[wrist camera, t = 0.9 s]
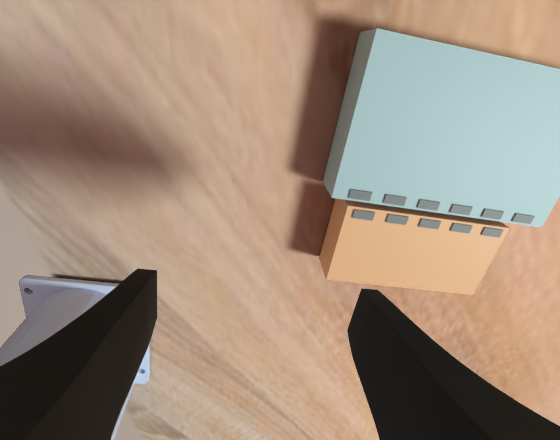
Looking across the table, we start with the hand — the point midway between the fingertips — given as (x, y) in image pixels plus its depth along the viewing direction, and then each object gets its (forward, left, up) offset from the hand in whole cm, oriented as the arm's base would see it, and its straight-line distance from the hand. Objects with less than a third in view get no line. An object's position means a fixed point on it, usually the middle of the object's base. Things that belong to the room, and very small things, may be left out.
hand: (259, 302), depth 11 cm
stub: (-1, -10, -9) cm, 14 cm away
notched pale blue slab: (+6, -10, -9) cm, 15 cm away
